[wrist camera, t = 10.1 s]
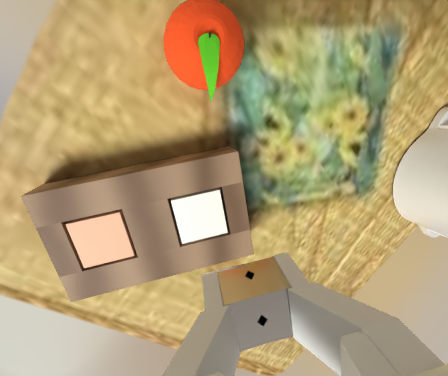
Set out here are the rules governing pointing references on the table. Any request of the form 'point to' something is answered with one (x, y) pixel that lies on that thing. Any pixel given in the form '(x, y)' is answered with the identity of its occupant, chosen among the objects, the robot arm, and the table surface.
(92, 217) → the key terracotta
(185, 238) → the key ivory
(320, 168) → the table surface
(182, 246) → the key console
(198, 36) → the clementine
